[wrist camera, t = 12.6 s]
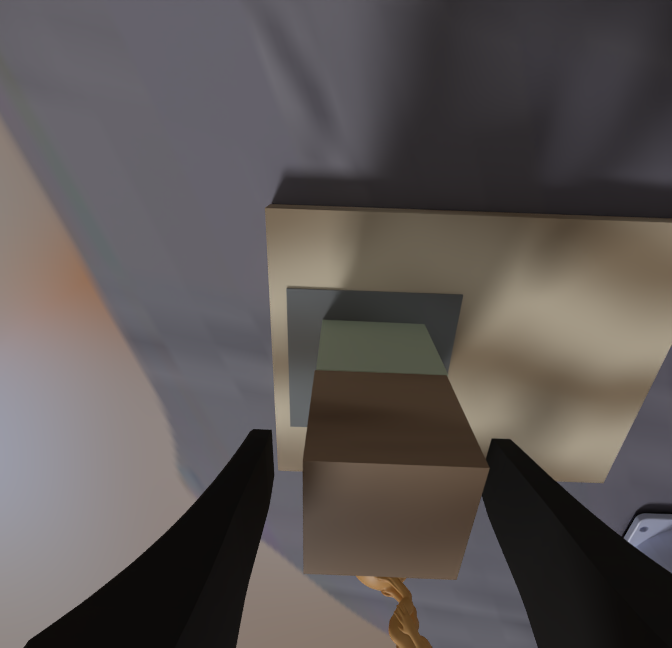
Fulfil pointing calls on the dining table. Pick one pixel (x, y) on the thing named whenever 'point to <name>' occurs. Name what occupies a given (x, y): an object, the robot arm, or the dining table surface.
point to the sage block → (378, 348)
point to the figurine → (399, 611)
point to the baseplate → (484, 317)
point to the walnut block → (388, 476)
